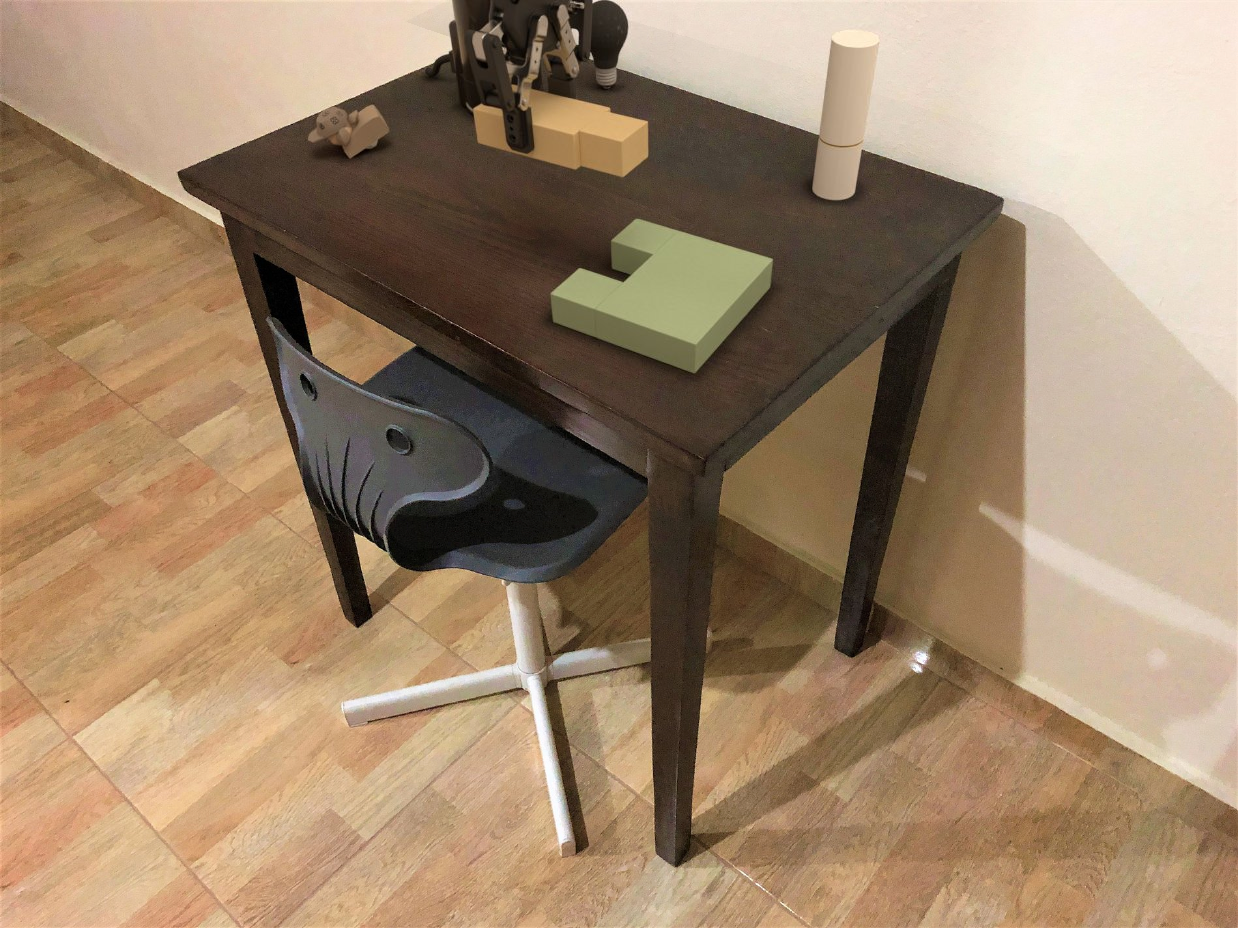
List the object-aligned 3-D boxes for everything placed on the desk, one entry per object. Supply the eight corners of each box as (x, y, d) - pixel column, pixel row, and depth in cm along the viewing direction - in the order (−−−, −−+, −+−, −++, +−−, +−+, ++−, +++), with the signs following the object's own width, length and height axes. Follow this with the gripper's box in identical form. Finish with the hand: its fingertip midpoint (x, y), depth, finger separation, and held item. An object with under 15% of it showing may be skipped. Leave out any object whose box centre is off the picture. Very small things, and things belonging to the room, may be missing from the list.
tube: (854, 201, 93) (879, 49, 83) (811, 198, 94) (830, 46, 83) (855, 181, 96) (879, 30, 86) (813, 178, 97) (832, 28, 86)
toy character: (332, 165, 106) (297, 123, 102) (389, 125, 106) (357, 82, 101) (338, 181, 104) (303, 139, 99) (396, 141, 103) (364, 96, 99)
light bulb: (576, 93, 113) (571, 7, 106) (594, 75, 117) (590, -10, 110) (619, 99, 112) (616, 12, 105) (636, 81, 115) (635, -5, 108)
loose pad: (477, 143, 79) (472, 108, 77) (516, 118, 82) (512, 84, 80) (617, 181, 73) (616, 145, 71) (653, 153, 76) (652, 117, 74)
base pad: (552, 322, 80) (549, 293, 78) (636, 246, 89) (636, 218, 87) (694, 374, 75) (695, 344, 73) (770, 287, 83) (773, 258, 81)
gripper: (537, -122, 72) (555, 95, 84) (415, -72, 63) (454, 161, 75) (620, -111, 69) (626, 112, 81) (503, -58, 60) (529, 183, 72)
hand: (543, 134), depth 78 cm, fingers closed on loose pad, 5 cm apart
